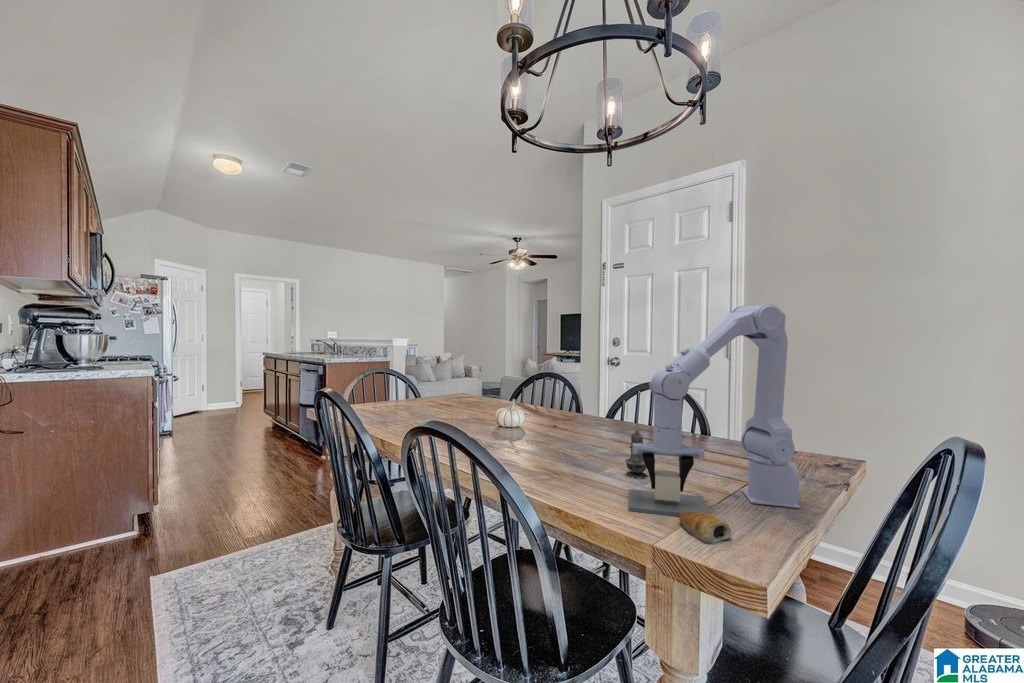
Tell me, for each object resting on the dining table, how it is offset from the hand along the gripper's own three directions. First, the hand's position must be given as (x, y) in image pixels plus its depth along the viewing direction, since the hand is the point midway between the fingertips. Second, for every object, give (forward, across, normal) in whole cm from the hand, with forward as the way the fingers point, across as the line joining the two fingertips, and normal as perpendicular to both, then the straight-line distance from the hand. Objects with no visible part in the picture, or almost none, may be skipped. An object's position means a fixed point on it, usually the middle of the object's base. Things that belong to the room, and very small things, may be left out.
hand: (666, 488), depth 92 cm
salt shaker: (+4, +6, -19) cm, 20 cm away
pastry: (+4, -6, +12) cm, 14 cm away
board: (+4, 0, 0) cm, 4 cm away
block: (+2, 0, 0) cm, 2 cm away
